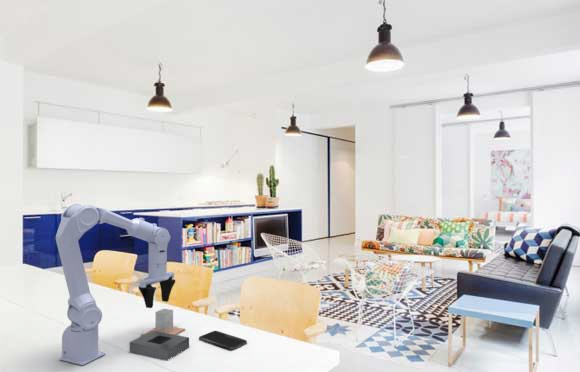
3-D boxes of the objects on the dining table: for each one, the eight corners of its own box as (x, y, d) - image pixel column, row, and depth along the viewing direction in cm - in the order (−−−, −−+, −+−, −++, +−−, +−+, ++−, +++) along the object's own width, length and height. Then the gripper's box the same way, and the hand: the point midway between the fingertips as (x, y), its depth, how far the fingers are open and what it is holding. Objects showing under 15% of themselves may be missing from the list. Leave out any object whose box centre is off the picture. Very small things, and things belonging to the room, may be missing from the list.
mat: (140, 336, 131) (140, 334, 131) (161, 326, 140) (161, 324, 140) (165, 340, 127) (165, 339, 127) (185, 330, 136) (185, 328, 136)
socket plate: (129, 352, 118) (129, 342, 118) (153, 340, 128) (153, 330, 128) (167, 360, 113) (167, 349, 113) (189, 347, 122) (189, 337, 122)
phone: (230, 349, 119) (197, 337, 128) (230, 352, 119) (197, 340, 128) (248, 340, 126) (215, 330, 134) (248, 344, 126) (215, 333, 134)
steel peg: (155, 333, 132) (155, 312, 132) (163, 329, 136) (163, 308, 136) (165, 334, 131) (165, 313, 131) (173, 330, 134) (173, 310, 134)
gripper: (151, 268, 123) (151, 312, 123) (181, 260, 137) (181, 300, 137) (134, 266, 126) (133, 309, 126) (165, 258, 140) (164, 297, 140)
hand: (157, 304), depth 132 cm, fingers open, 7 cm apart
